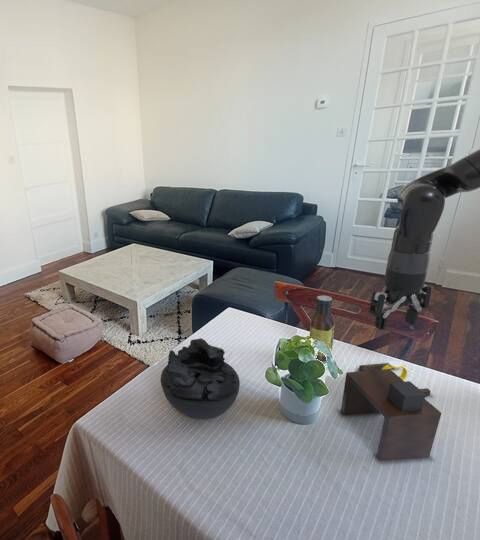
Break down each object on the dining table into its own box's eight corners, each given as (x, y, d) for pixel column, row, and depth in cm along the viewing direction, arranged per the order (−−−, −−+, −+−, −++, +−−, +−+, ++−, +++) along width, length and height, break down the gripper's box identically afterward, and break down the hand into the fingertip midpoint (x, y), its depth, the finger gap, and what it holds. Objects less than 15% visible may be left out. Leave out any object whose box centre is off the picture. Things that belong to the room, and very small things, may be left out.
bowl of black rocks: (243, 391, 95) (244, 333, 88) (234, 447, 78) (234, 381, 72) (174, 377, 103) (170, 324, 97) (152, 426, 87) (146, 365, 80)
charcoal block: (406, 396, 71) (409, 381, 70) (421, 410, 68) (425, 394, 66) (386, 398, 72) (389, 382, 70) (401, 412, 68) (404, 396, 66)
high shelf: (381, 408, 84) (389, 368, 80) (429, 457, 71) (441, 413, 67) (340, 411, 84) (346, 372, 80) (380, 461, 71) (389, 416, 67)
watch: (400, 377, 93) (404, 359, 91) (407, 384, 90) (411, 366, 88) (377, 379, 93) (380, 361, 91) (383, 385, 91) (387, 367, 89)
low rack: (394, 366, 97) (395, 362, 97) (429, 395, 86) (431, 390, 85) (358, 369, 98) (359, 365, 97) (389, 398, 86) (390, 394, 86)
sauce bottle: (334, 361, 102) (342, 303, 95) (312, 361, 103) (318, 303, 96) (325, 349, 108) (332, 293, 101) (304, 349, 109) (309, 294, 102)
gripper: (393, 277, 77) (382, 338, 82) (449, 267, 78) (434, 328, 84) (366, 266, 84) (358, 323, 89) (418, 258, 85) (406, 314, 91)
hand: (395, 325), depth 86 cm, fingers open, 8 cm apart
